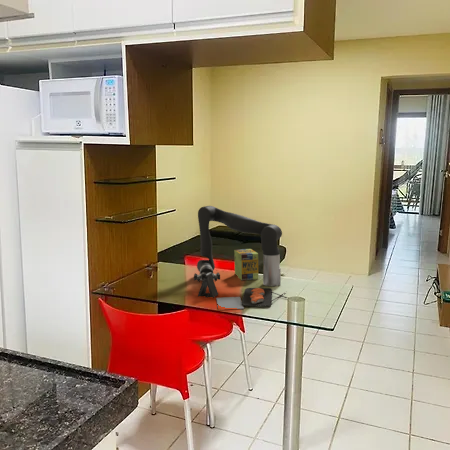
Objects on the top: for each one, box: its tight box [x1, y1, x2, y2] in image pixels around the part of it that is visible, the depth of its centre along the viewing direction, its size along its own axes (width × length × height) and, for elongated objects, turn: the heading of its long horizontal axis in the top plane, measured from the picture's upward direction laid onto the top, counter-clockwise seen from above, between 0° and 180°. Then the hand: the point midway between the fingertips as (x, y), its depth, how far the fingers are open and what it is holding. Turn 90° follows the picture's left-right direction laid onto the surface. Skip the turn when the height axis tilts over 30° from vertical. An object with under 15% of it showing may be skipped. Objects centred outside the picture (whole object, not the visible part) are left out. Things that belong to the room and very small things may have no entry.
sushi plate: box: [241, 287, 288, 307], centre depth 231 cm, size 29×30×4 cm
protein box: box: [233, 248, 259, 282], centre depth 273 cm, size 10×15×16 cm
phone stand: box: [197, 272, 219, 299], centre depth 238 cm, size 9×6×12 cm, turn 67°
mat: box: [215, 296, 245, 310], centre depth 224 cm, size 12×18×1 cm, turn 4°
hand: (207, 280), depth 244 cm, fingers open, 8 cm apart
